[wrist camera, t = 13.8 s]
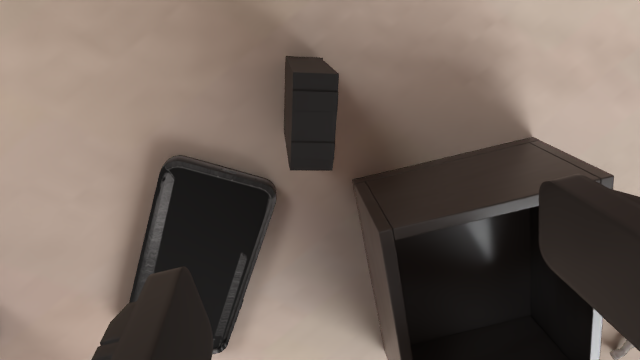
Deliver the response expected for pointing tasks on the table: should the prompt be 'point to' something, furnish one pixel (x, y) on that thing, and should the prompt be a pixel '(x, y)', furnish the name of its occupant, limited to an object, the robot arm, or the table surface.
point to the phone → (207, 234)
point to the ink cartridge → (310, 113)
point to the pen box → (473, 258)
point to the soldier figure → (621, 350)
